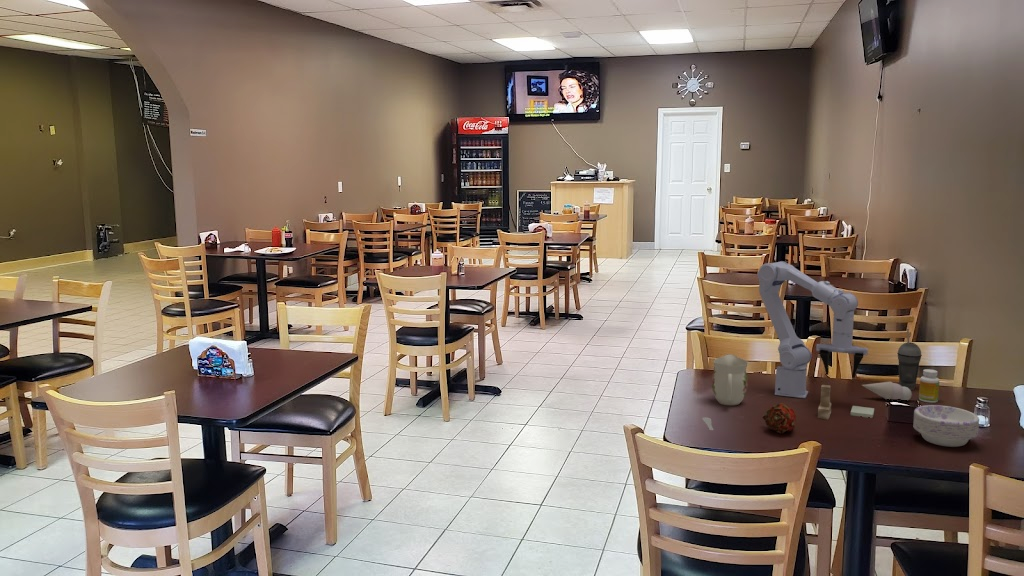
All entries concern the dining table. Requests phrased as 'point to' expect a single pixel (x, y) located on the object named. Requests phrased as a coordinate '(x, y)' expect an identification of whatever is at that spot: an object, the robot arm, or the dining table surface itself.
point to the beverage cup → (908, 363)
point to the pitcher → (729, 379)
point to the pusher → (825, 403)
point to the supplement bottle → (929, 386)
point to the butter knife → (708, 422)
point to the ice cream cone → (890, 390)
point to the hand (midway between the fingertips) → (840, 375)
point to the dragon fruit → (780, 418)
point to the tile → (862, 411)
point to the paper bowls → (945, 425)
